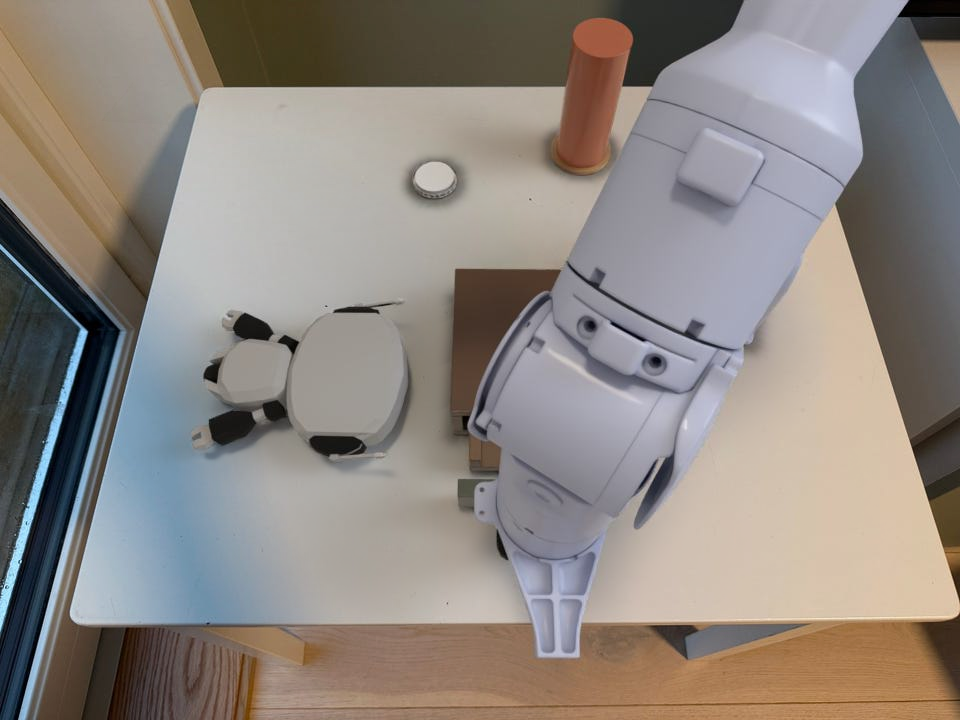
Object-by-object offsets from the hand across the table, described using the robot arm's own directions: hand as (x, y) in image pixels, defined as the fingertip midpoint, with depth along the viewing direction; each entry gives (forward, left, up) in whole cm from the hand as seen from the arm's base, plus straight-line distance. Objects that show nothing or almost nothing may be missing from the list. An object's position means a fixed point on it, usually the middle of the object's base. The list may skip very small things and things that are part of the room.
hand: (537, 535), depth 40 cm
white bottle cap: (+18, -28, -2) cm, 33 cm away
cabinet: (+4, -13, -2) cm, 14 cm away
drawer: (+2, -6, -1) cm, 7 cm away
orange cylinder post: (+6, -35, -2) cm, 36 cm away
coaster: (+6, -35, -2) cm, 36 cm away
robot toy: (+19, -5, -2) cm, 20 cm away
